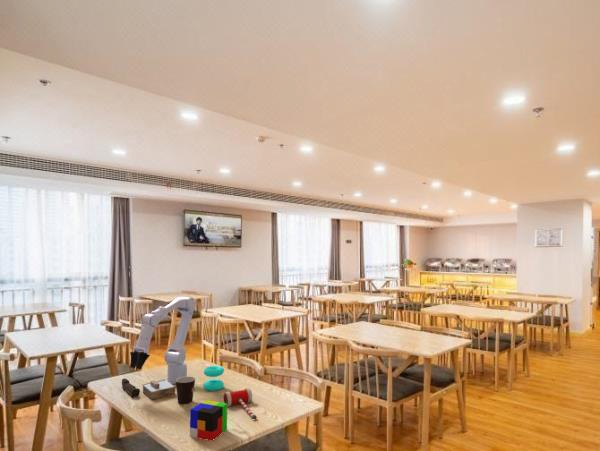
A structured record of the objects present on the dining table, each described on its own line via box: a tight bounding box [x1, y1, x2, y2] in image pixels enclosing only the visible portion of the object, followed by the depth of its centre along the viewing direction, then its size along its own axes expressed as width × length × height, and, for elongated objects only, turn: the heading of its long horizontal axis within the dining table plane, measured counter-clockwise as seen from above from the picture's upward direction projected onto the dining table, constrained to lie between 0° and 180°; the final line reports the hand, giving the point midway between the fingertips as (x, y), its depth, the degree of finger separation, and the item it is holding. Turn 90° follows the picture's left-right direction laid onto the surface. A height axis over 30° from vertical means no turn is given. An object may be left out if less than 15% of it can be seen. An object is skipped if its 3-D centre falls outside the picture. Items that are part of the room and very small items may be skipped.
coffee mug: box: [175, 375, 196, 405], centre depth 183 cm, size 12×9×10 cm
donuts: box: [203, 365, 225, 392], centre depth 202 cm, size 10×10×10 cm
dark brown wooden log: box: [121, 377, 141, 398], centre depth 197 cm, size 19×4×5 cm, turn 39°
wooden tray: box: [142, 379, 177, 401], centre depth 194 cm, size 11×13×4 cm
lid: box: [142, 379, 175, 393], centre depth 194 cm, size 11×11×3 cm
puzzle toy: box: [189, 399, 228, 441], centre depth 154 cm, size 10×10×10 cm
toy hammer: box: [223, 387, 258, 420], centre depth 176 cm, size 23×12×6 cm, turn 30°
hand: (135, 368), depth 188 cm, fingers open, 7 cm apart
